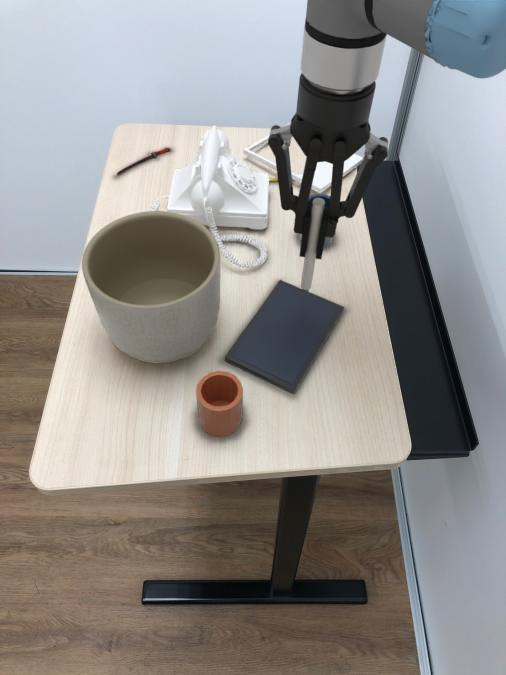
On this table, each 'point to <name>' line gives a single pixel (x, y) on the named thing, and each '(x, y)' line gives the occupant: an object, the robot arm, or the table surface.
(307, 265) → the stylus
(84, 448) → the table surface
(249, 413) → the table surface
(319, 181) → the photo frame
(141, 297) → the planter
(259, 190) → the telephone
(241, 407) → the cup
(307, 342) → the tablet
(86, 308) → the table surface
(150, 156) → the katana
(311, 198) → the holder
